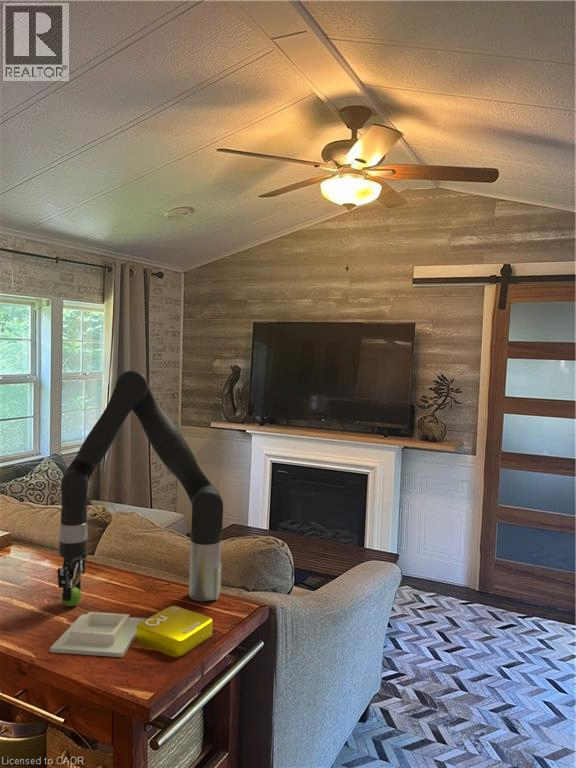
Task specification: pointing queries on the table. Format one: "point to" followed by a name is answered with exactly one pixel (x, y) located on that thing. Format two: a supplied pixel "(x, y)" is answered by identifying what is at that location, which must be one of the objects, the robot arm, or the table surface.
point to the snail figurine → (73, 592)
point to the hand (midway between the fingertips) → (71, 595)
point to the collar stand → (98, 635)
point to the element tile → (174, 631)
